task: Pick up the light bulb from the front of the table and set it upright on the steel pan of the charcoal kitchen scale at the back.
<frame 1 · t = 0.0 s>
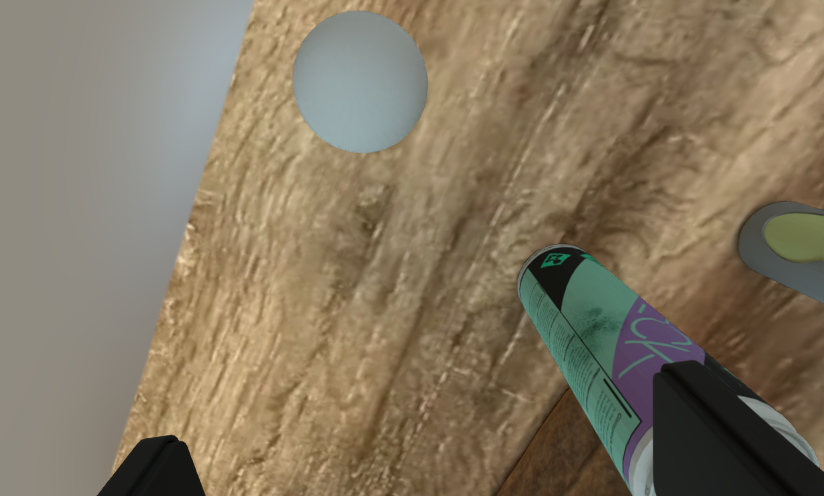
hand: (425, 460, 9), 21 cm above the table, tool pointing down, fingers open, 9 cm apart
light bulb: (372, 88, 28), on the table
spray can: (556, 281, 31), on the table
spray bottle: (768, 235, 31), on the table
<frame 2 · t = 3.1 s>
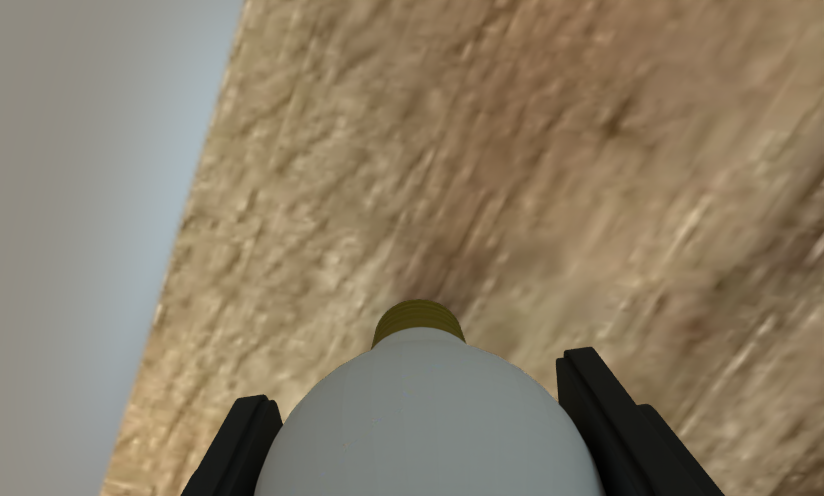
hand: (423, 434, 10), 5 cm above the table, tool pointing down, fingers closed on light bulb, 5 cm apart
light bulb: (417, 323, 15), on the table, touching gripper
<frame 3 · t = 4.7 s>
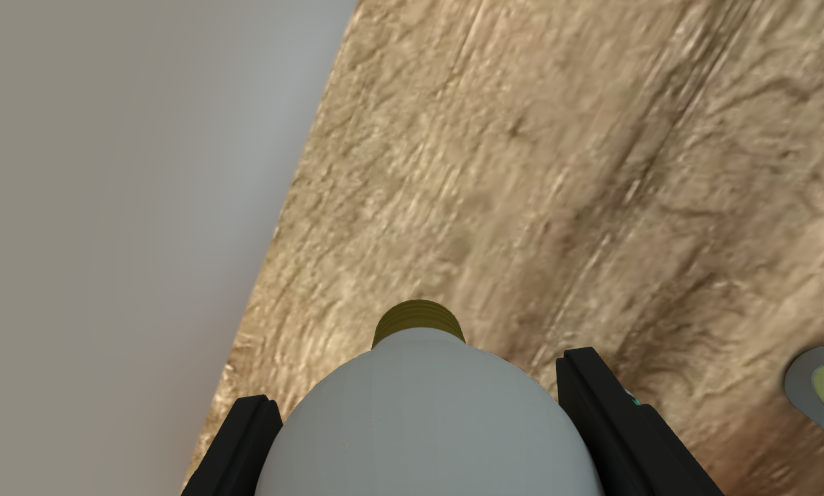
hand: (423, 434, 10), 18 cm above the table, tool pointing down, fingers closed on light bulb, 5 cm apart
light bulb: (417, 323, 15), point 13 cm above the table, touching gripper
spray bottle: (814, 373, 30), on the table
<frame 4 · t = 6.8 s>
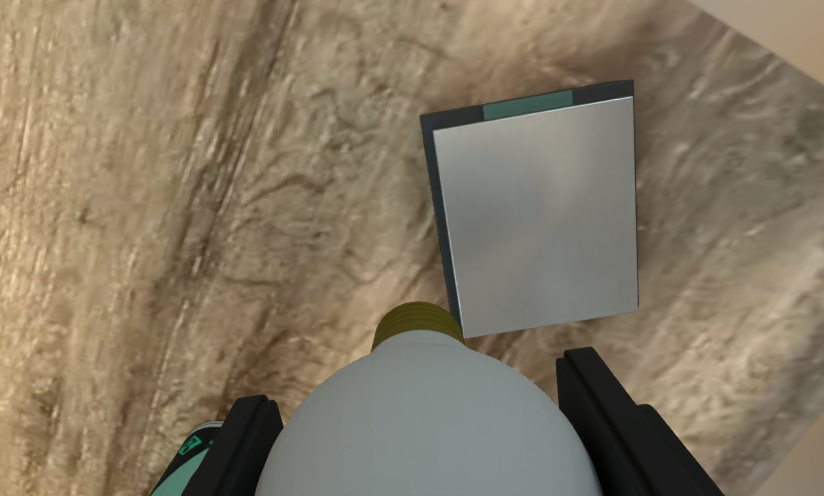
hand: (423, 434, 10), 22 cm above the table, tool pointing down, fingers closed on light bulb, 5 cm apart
scale: (526, 208, 31), on the table
light bulb: (417, 325, 15), point 16 cm above the table, touching gripper
spray can: (222, 448, 36), on the table
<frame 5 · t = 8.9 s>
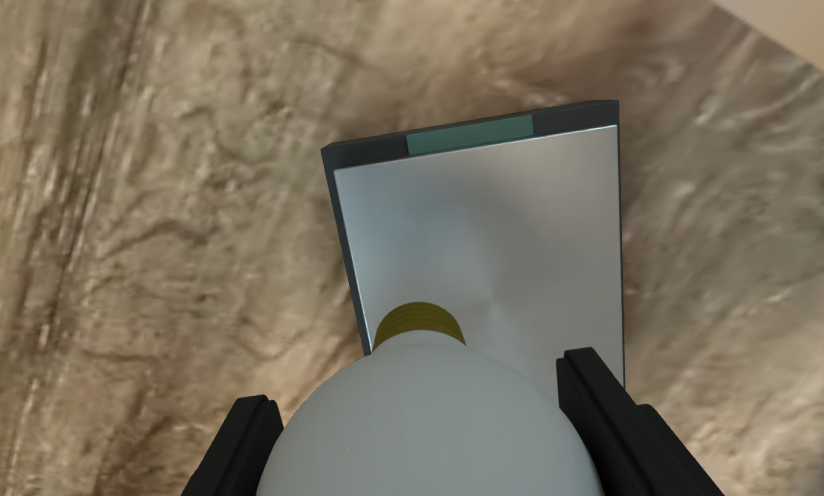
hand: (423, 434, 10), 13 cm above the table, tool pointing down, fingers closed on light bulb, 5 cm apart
scale: (478, 266, 23), on the table
light bulb: (417, 326, 15), point 8 cm above the table, touching gripper
when the fingers open (8 cm above the table, at t = 10.6 s): light bulb stays where it is, resting on scale.
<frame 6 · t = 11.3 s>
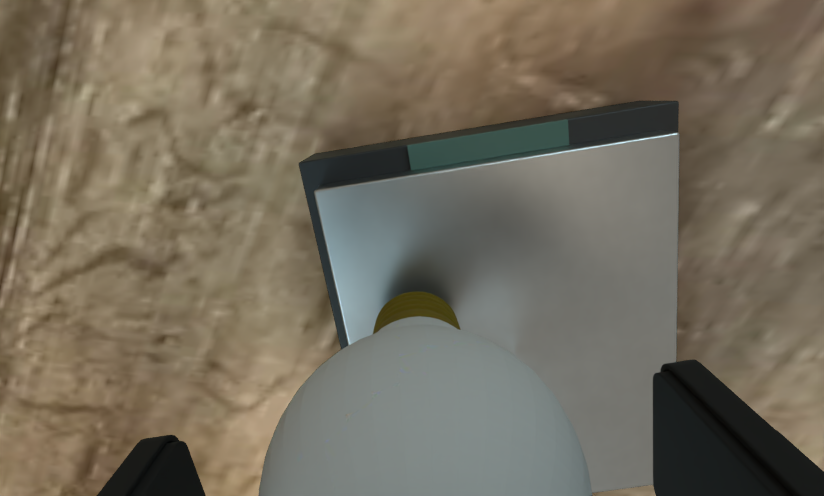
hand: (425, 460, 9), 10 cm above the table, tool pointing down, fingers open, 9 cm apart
scale: (494, 302, 19), on the table
light bulb: (415, 315, 16), point 3 cm above the table, touching scale
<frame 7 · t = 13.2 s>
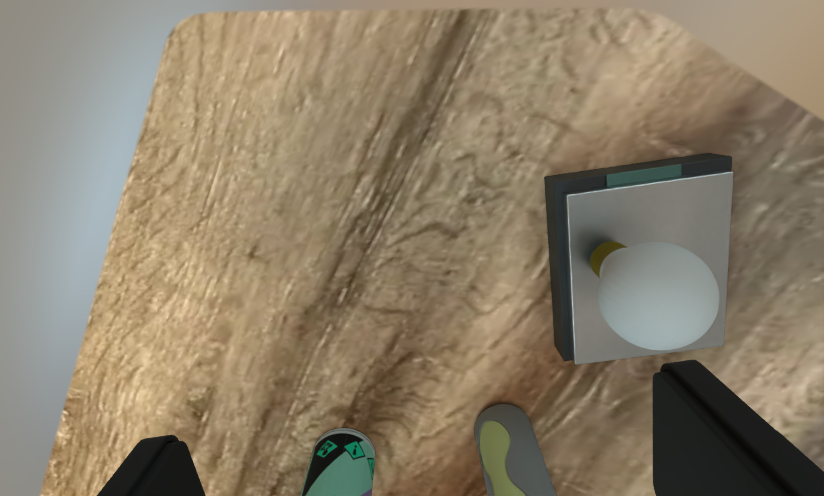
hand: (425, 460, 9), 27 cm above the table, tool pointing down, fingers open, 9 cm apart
scale: (627, 255, 36), on the table
light bulb: (603, 255, 33), point 3 cm above the table, touching scale
spray can: (344, 452, 42), on the table
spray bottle: (500, 423, 41), on the table
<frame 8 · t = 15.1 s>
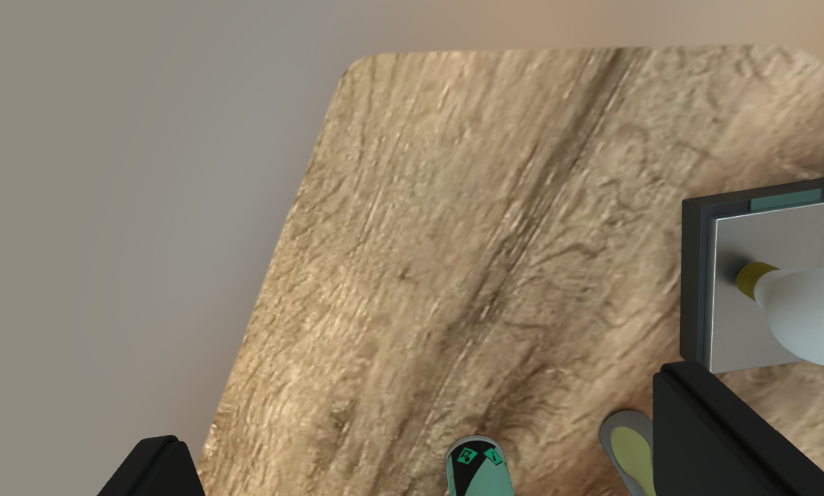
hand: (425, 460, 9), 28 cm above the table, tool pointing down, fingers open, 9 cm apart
scale: (753, 270, 39), on the table
light bulb: (744, 273, 35), point 3 cm above the table, touching scale
spray can: (474, 457, 44), on the table
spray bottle: (622, 428, 43), on the table
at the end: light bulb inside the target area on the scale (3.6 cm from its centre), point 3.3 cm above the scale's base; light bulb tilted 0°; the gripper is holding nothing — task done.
